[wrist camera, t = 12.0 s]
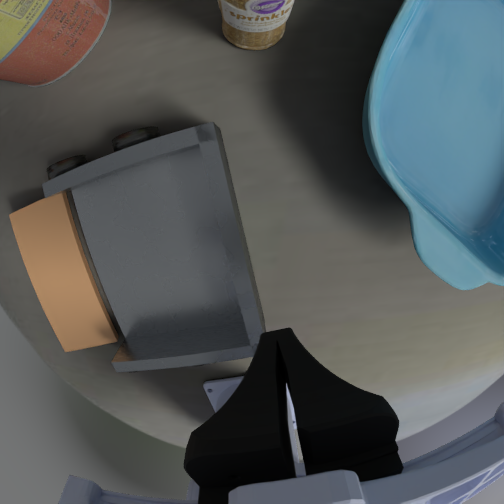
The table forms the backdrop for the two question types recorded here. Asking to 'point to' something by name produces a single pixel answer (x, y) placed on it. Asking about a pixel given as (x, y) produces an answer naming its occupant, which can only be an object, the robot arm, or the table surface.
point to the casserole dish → (444, 132)
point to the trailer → (167, 247)
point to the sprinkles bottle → (254, 22)
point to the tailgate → (62, 274)
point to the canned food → (48, 37)
